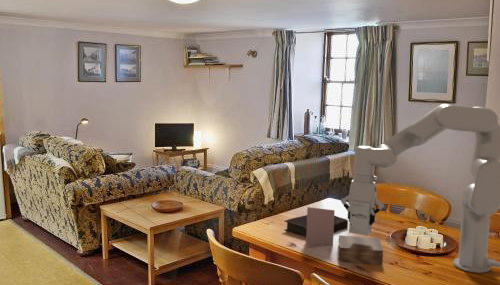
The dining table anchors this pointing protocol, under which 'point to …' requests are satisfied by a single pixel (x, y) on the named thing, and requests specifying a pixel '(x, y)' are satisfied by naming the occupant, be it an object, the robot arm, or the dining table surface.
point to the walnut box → (360, 250)
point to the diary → (300, 225)
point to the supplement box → (360, 218)
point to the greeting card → (319, 227)
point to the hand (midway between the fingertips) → (360, 222)
